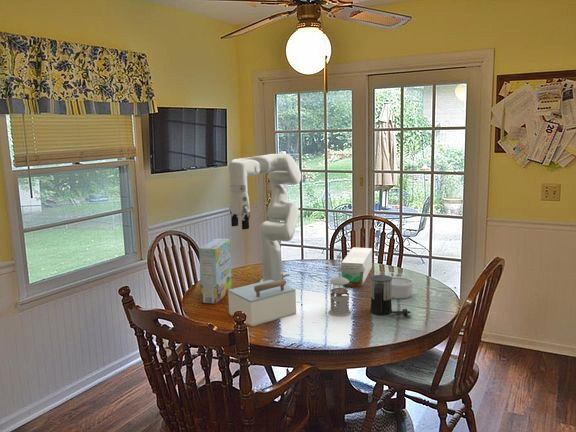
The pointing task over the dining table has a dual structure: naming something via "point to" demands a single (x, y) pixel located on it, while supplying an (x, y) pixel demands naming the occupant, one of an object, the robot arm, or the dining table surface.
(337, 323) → the dining table surface
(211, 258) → the snack box
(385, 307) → the milk frother
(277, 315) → the carton
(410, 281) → the ramekin
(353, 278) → the food container
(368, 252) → the long white box
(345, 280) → the french press
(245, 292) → the lid flap
